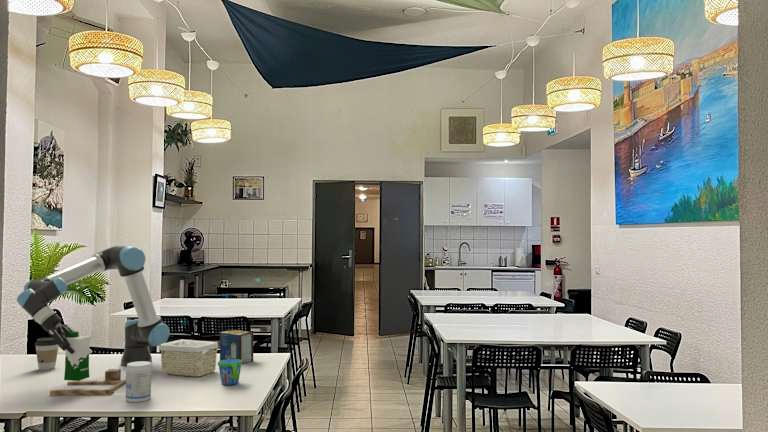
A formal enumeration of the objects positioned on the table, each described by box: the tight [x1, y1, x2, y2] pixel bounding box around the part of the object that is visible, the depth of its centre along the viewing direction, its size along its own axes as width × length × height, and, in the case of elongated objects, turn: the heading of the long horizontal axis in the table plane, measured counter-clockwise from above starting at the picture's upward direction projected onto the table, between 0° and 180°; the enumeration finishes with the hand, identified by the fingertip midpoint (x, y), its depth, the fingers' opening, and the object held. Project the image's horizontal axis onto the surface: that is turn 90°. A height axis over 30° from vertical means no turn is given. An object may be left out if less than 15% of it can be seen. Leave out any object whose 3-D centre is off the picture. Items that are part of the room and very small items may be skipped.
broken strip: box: [80, 379, 125, 381], centre depth 277 cm, size 21×5×1 cm, turn 93°
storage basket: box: [159, 338, 219, 377], centre depth 299 cm, size 24×16×15 cm
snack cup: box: [217, 359, 243, 386], centre depth 276 cm, size 16×10×10 cm
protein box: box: [219, 329, 254, 364], centre depth 327 cm, size 10×15×16 cm
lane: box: [49, 380, 126, 397], centre depth 264 cm, size 25×17×2 cm
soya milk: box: [63, 330, 92, 381], centre depth 264 cm, size 9×9×20 cm
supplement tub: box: [125, 361, 153, 403], centre depth 249 cm, size 10×10×15 cm
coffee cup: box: [34, 336, 59, 371], centre depth 308 cm, size 11×11×15 cm
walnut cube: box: [104, 368, 122, 381], centre depth 277 cm, size 5×5×5 cm
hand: (84, 355), depth 264 cm, fingers closed on soya milk, 9 cm apart
